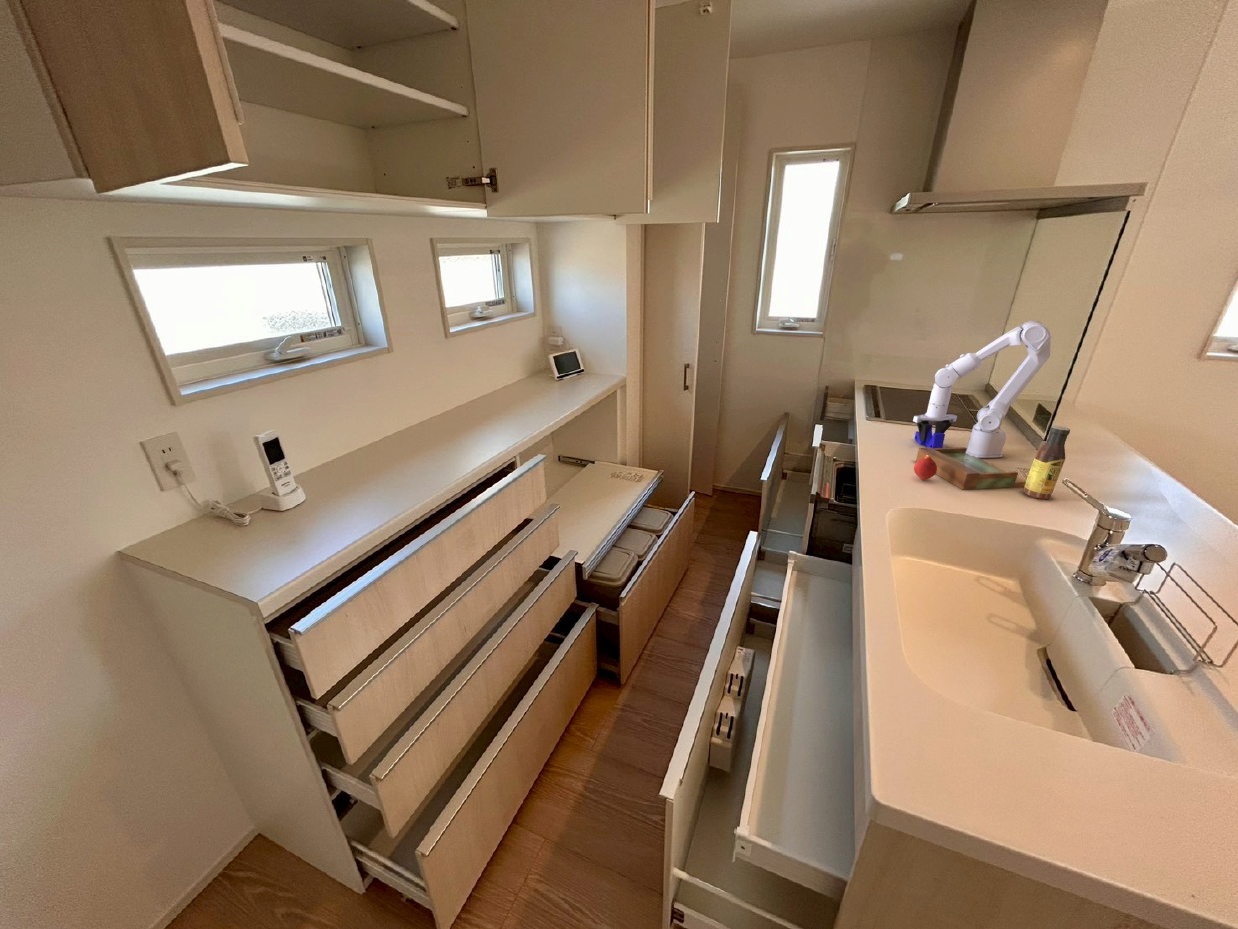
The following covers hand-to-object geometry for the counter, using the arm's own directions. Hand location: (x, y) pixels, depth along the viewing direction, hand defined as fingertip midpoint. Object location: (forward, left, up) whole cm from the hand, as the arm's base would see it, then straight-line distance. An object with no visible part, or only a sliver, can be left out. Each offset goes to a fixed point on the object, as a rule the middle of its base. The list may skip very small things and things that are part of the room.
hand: (929, 441), depth 175 cm
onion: (+21, +27, -2) cm, 34 cm away
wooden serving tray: (+4, +24, -2) cm, 24 cm away
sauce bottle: (-4, +40, -2) cm, 40 cm away
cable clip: (0, 0, -2) cm, 2 cm away
